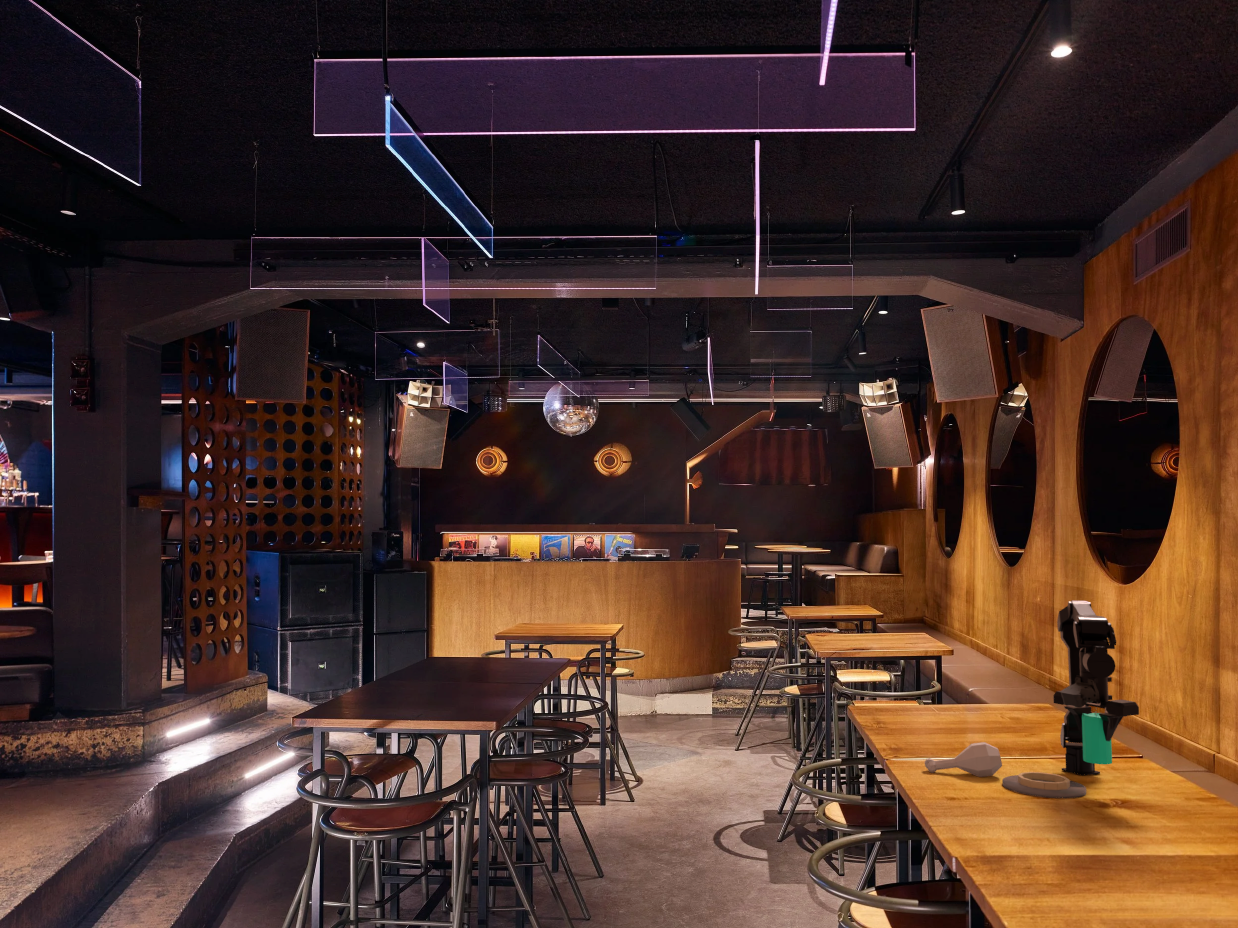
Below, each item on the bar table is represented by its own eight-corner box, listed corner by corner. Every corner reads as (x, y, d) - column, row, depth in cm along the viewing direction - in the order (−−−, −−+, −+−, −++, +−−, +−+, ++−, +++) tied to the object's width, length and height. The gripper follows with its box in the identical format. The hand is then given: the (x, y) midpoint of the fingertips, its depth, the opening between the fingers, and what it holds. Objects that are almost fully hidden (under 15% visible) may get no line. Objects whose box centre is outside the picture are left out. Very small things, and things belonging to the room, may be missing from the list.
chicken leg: (926, 770, 243) (920, 742, 241) (999, 761, 239) (993, 733, 237) (930, 791, 235) (924, 762, 233) (1006, 781, 231) (1000, 752, 229)
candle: (1109, 759, 218) (1108, 706, 219) (1114, 765, 212) (1112, 711, 213) (1081, 757, 220) (1079, 705, 221) (1085, 763, 214) (1083, 709, 215)
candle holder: (1042, 776, 234) (1041, 766, 234) (1104, 794, 217) (1103, 783, 218) (985, 782, 227) (985, 771, 227) (1045, 801, 210) (1045, 789, 211)
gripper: (1035, 668, 223) (1037, 735, 222) (1104, 679, 206) (1106, 752, 205) (1069, 666, 228) (1071, 732, 227) (1139, 676, 211) (1142, 748, 210)
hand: (1095, 740), depth 217 cm, fingers closed on candle, 5 cm apart
